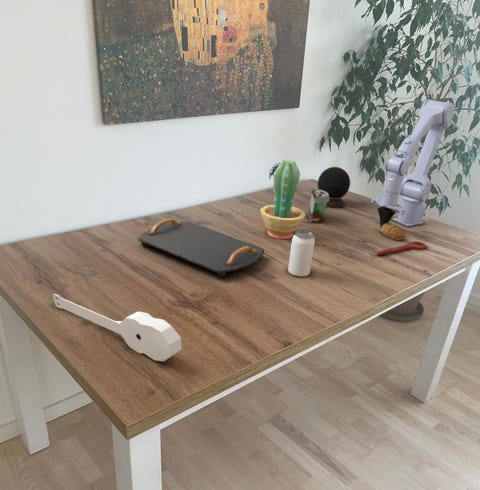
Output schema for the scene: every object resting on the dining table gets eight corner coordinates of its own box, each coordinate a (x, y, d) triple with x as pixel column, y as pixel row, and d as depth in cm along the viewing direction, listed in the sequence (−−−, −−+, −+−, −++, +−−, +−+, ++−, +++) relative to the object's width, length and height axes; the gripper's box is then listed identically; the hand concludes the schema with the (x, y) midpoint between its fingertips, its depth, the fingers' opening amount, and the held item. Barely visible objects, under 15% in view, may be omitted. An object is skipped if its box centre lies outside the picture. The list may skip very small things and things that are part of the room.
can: (295, 278, 138) (301, 240, 132) (283, 269, 143) (288, 231, 137) (314, 275, 141) (320, 237, 135) (301, 266, 146) (307, 229, 140)
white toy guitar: (70, 308, 120) (56, 314, 117) (65, 278, 116) (50, 284, 113) (184, 358, 100) (170, 367, 97) (182, 325, 96) (168, 333, 94)
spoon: (417, 242, 170) (418, 238, 169) (429, 248, 166) (430, 244, 165) (371, 253, 159) (372, 248, 158) (382, 259, 155) (383, 254, 154)
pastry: (409, 240, 171) (411, 230, 169) (394, 242, 168) (397, 232, 167) (391, 230, 178) (393, 220, 176) (377, 232, 176) (379, 222, 174)
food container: (327, 225, 179) (332, 199, 174) (311, 224, 178) (315, 197, 173) (323, 214, 189) (327, 189, 184) (308, 212, 189) (311, 187, 184)
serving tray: (272, 260, 148) (274, 241, 145) (226, 285, 131) (227, 264, 128) (180, 226, 167) (180, 208, 164) (129, 244, 150) (128, 225, 147)
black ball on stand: (349, 202, 205) (356, 166, 198) (342, 210, 194) (348, 173, 187) (319, 196, 209) (325, 161, 202) (310, 204, 199) (316, 168, 191)
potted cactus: (291, 224, 176) (300, 155, 164) (309, 241, 164) (321, 167, 151) (251, 226, 171) (258, 155, 159) (267, 243, 159) (275, 167, 146)
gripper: (368, 186, 173) (361, 222, 180) (399, 198, 163) (390, 235, 170) (382, 184, 177) (374, 219, 183) (413, 196, 166) (403, 233, 173)
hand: (383, 227), depth 177 cm, fingers closed
